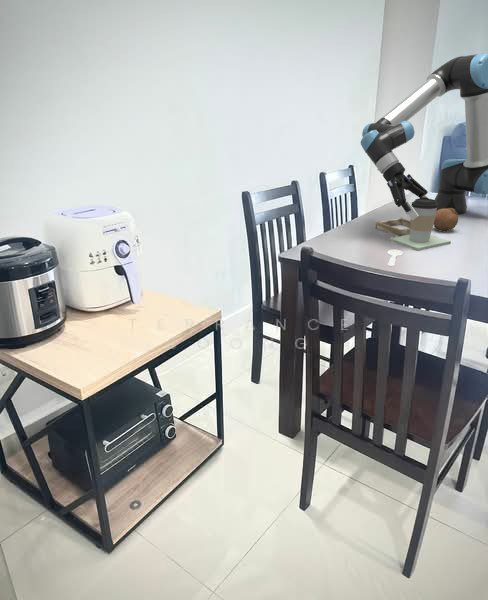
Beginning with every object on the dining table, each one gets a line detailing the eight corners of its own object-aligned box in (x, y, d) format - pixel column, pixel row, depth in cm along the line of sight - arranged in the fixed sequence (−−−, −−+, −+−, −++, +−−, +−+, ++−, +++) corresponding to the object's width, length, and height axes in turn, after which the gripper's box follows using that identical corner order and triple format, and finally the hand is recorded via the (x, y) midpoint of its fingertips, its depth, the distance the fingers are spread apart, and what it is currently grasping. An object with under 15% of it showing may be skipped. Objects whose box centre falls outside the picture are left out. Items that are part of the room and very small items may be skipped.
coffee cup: (434, 243, 158) (441, 202, 151) (408, 242, 159) (414, 201, 153) (429, 236, 166) (436, 196, 159) (404, 235, 167) (410, 196, 161)
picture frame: (401, 223, 187) (401, 218, 186) (426, 231, 175) (427, 225, 174) (375, 228, 182) (375, 222, 180) (399, 236, 170) (400, 230, 169)
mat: (421, 234, 172) (421, 232, 171) (450, 243, 160) (450, 241, 160) (389, 240, 166) (389, 238, 165) (417, 250, 154) (418, 248, 154)
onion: (451, 237, 178) (466, 215, 174) (443, 235, 171) (459, 213, 166) (431, 224, 183) (446, 203, 178) (423, 223, 176) (438, 201, 171)
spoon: (381, 266, 142) (382, 264, 142) (388, 249, 157) (388, 248, 157) (399, 268, 140) (399, 266, 140) (404, 251, 155) (404, 249, 155)
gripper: (399, 170, 172) (431, 213, 169) (365, 179, 157) (399, 227, 153) (414, 157, 167) (447, 202, 163) (380, 165, 151) (416, 215, 148)
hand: (424, 214), depth 158 cm, fingers open, 13 cm apart
